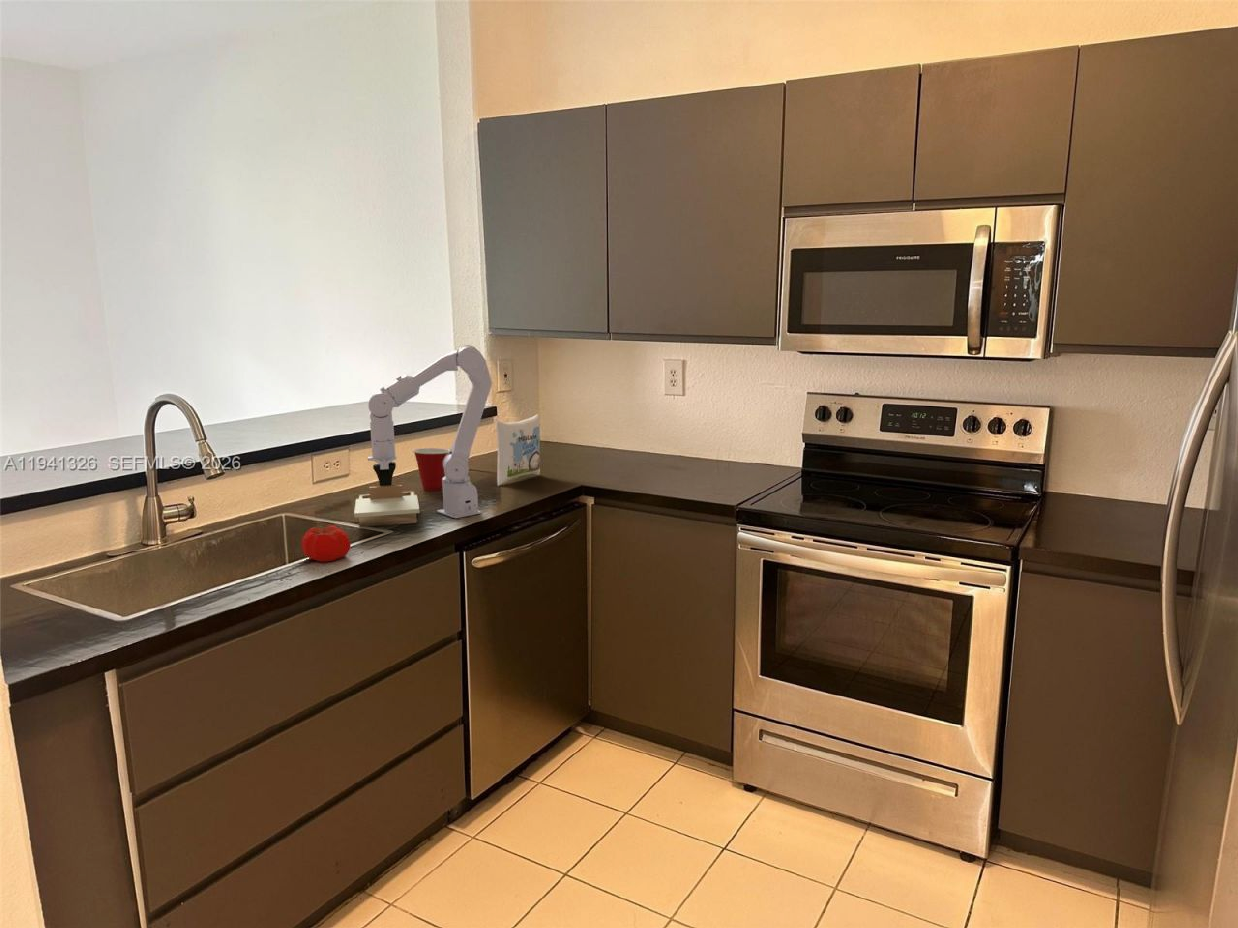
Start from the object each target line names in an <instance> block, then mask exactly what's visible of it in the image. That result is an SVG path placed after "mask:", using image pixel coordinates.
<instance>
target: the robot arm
mask: <svg viewBox="0 0 1238 928" xmlns="http://www.w3.org/2000/svg"><path fill="white" fill-rule="evenodd" d="M458 367H460V369H461V370H462V371H463V372H464V373H465V374H466V375H467V377H468V380H470V382H471V385H472V386H471V389H470V392H469V395H468V398H467V401H466V404H465V407H464V410H463V413H462V417H461V419H460V422H459V426H458V428H457V431H456V434H455V436H454V437H455V438H454V440H453V442H452V443H451V446H450V449H449V450H450V452H449V453H448V454H447V455H446V456H445V457H444V459H443V468H444V474H445V476H444V477H443V478H442V485H443V488H442V500H443V501H442V503H443V509H437V511H436V512H437V513H439V514H441V515H445V516H448V517H450V518H454V519H459V518H464V517H470V516H475V515H479V514H482V511H480V510H479V499H478V497H479V496H478V490H477V489H478V488H477V487H476V486H475V485H474V484H473V483H472V482H471V477H470V475H468V474H469V471H470V469H469V460H470V457H471V451H472V450H471V449H472V446H473V443H474V440H475V438H476V434H477V431H478V429H479V425H480V422H481V419H482V415H483V413H484V410H485V408H486V407H485V406H486V404H487V400H488V397H489V395H490V392H491V388H492V385H493V384H492V383H493V382H492V378H491V374H490V372H489V367H488V363H487V360H486V359H485V357H484V356H483V354H482V353H481V352H480V351H479V349H477V348H476V347H475V346H473V345H470V344H465V345H463V346H460V347H459V348H458V350H457V349H455V350H453V351H450V352H448V353H446V354H444V355H442V356H441V357H439V358H438V359H437V360H434V362H432V363H430V364H429V365H428V366H426V367H425V368H423V369H422V370H420V371H419V372H418V373H416V374H414V375H412V376H411V375H408V374H407V375H406V374H405V375H403V376H402V375H398V376H397V377H396V378H395V379H396V380H395V381H394V382H392V383H391V384H389V385H387V386H386V387H384V386H382V387H381V388H380V391H381V392H379V391H378V392H376V393H374V394H373V395H371V397H370V398H369V402H368V410H369V412H370V415H369V419H370V423H369V426H370V427H369V428H370V440H371V442H370V443H371V454H372V455H371V456H368V457H367V460H368V461H371V462H374V463H376V464H373V466H372V468H373V470H374V473H375V474H376V476H377V479H378V482H379V486H391V485H392V484H393V483H392V482H393V475H394V472H395V470H396V468H397V465H396V464H397V463H396V462H394V461H396V460H397V455H396V446H395V445H396V441H395V430H394V429H395V428H394V421H393V417H392V415H393V414H392V411H393V408H399V407H400V406H402V405H404V404H406V402H408V401H410V400H411V399H413V398H414V397H416V396H417V395H419V392H420V388H421V387H422V386H424V385H425V384H427V383H429V382H430V381H432V380H434V379H435V378H437V377H439V376H441V375H442V374H444V373H447V372H457V371H459V368H458Z"/></svg>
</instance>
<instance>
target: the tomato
mask: <svg viewBox="0 0 1238 928" xmlns="http://www.w3.org/2000/svg"><path fill="white" fill-rule="evenodd" d="M350 539H351V538H350V537H349V536H348V533H346V531H344V530H343V529H340V528H339V527H337V526H336V525H329V526H326V527H325V526H322V528H319V527H315V526H312V527H311V528H309V529H308V530H307V531H306V532H305V534H304V535H303V537H302V539H301V548H302V552H303V553H304V555H305V556H306V557H307V558H309V559H310V560H315V561H317V562H321V563H322V562H323V563H324V562H325V563H327V562H332V561H335V560H337V559H342V558H344V557H345V556H347V555H348V553H349V551H350V550H351V540H350Z"/></svg>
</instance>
